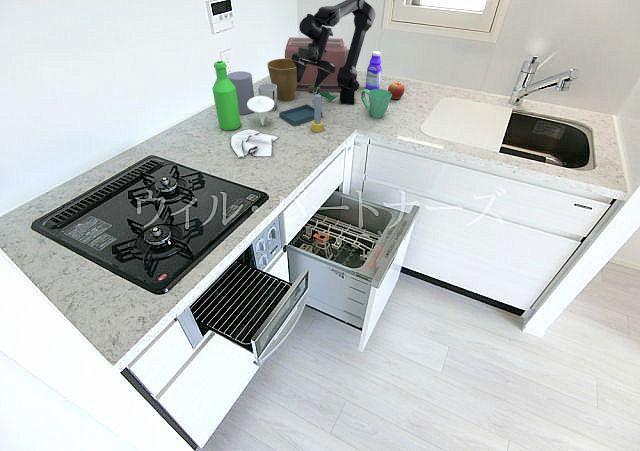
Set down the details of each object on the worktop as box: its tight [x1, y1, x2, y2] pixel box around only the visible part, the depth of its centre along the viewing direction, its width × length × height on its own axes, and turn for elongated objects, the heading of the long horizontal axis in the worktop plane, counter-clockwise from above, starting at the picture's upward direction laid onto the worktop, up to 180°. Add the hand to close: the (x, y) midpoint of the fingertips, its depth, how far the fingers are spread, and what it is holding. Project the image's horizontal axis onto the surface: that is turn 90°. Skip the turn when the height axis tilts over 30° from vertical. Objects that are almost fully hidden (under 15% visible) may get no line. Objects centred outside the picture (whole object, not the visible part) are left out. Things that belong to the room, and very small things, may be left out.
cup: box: [257, 82, 278, 112], centre depth 150 cm, size 8×8×10 cm
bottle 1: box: [212, 60, 242, 131], centre depth 131 cm, size 9×9×25 cm
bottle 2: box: [365, 50, 383, 91], centre depth 169 cm, size 7×6×17 cm
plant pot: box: [266, 58, 298, 102], centre depth 158 cm, size 15×15×16 cm
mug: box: [360, 88, 392, 119], centre depth 148 cm, size 15×10×10 cm
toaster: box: [284, 36, 350, 93], centre depth 171 cm, size 19×34×20 cm, turn 89°
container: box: [227, 70, 255, 115], centre depth 147 cm, size 10×10×15 cm
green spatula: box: [308, 86, 339, 102], centre depth 162 cm, size 21×2×5 cm, turn 41°
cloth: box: [230, 129, 279, 158], centre depth 127 cm, size 20×22×2 cm
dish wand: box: [311, 93, 324, 133], centre depth 134 cm, size 5×5×14 cm
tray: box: [278, 103, 323, 127], centre depth 147 cm, size 15×11×2 cm
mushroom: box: [247, 95, 274, 127], centre depth 137 cm, size 10×11×12 cm
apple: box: [387, 81, 406, 100], centre depth 163 cm, size 8×8×8 cm
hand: (306, 85), depth 135 cm, fingers open, 9 cm apart
